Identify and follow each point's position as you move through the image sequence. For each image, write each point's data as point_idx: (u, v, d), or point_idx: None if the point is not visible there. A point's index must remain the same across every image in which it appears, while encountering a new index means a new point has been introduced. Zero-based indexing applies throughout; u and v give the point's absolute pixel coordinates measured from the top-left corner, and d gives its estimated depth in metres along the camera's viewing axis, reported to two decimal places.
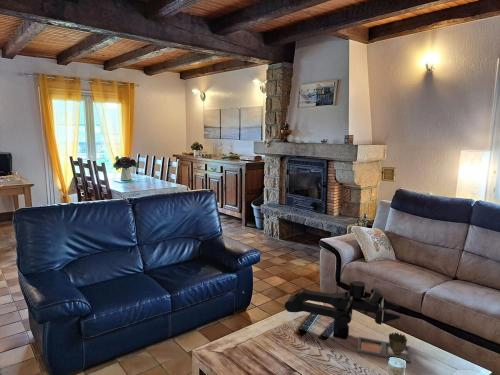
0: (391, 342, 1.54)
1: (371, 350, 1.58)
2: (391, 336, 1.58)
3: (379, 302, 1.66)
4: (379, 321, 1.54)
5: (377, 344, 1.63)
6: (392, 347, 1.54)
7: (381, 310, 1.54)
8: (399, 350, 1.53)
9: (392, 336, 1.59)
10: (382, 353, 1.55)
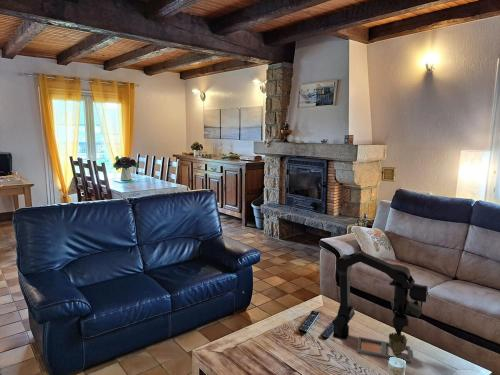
0: (391, 342, 1.54)
1: (371, 350, 1.58)
2: (391, 336, 1.58)
3: None
4: (396, 322, 1.45)
5: (377, 344, 1.63)
6: (392, 347, 1.54)
7: (408, 323, 1.45)
8: (399, 350, 1.53)
9: (392, 336, 1.59)
10: (382, 353, 1.55)
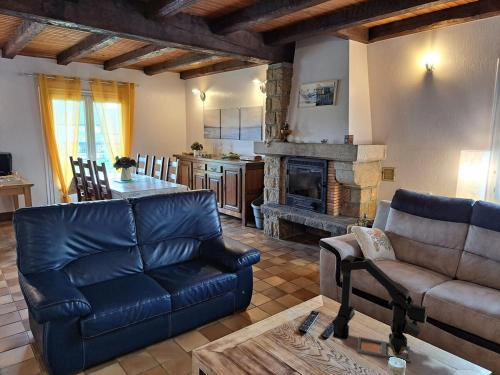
0: None
1: (371, 350, 1.58)
2: None
3: None
4: (395, 343, 1.47)
5: (377, 344, 1.63)
6: (392, 347, 1.54)
7: (406, 344, 1.46)
8: None
9: None
10: (382, 353, 1.55)
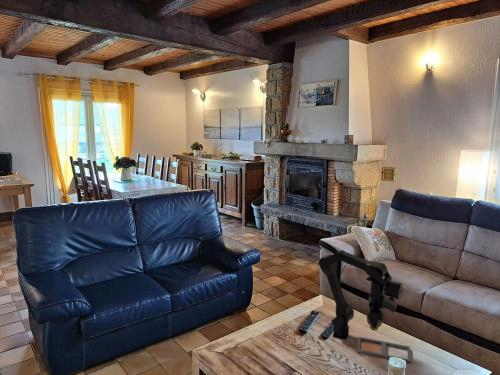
0: None
1: (371, 350, 1.58)
2: None
3: None
4: (371, 317, 1.49)
5: (377, 344, 1.63)
6: (369, 322, 1.56)
7: (382, 318, 1.48)
8: (376, 325, 1.55)
9: None
10: (382, 353, 1.55)
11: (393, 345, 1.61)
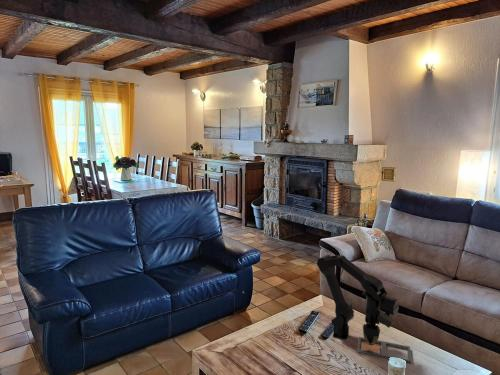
0: None
1: (371, 350, 1.58)
2: None
3: None
4: (367, 332, 1.50)
5: (377, 344, 1.63)
6: (366, 337, 1.58)
7: (378, 334, 1.50)
8: None
9: None
10: (382, 353, 1.55)
11: (393, 345, 1.61)
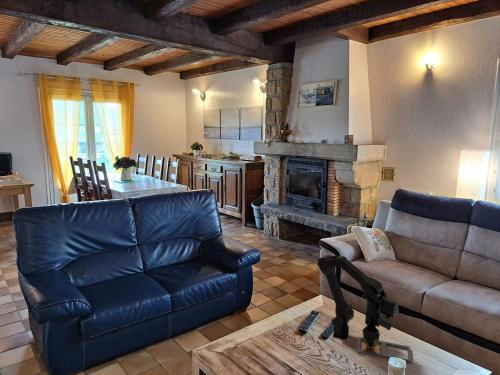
0: None
1: (371, 350, 1.58)
2: None
3: None
4: (367, 335, 1.50)
5: (377, 344, 1.63)
6: (365, 341, 1.58)
7: (378, 336, 1.50)
8: None
9: None
10: (382, 353, 1.55)
11: (393, 345, 1.61)
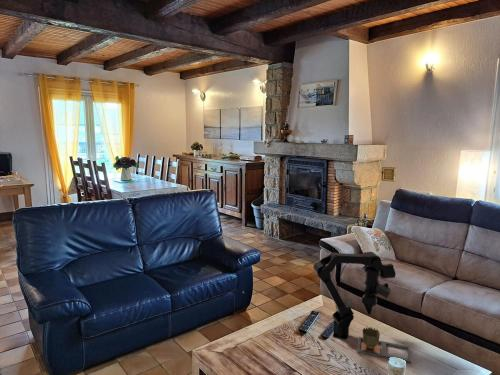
0: (364, 336, 1.58)
1: (371, 350, 1.58)
2: (365, 331, 1.62)
3: None
4: (365, 301, 1.61)
5: (377, 344, 1.63)
6: (365, 341, 1.58)
7: None
8: (372, 344, 1.57)
9: (366, 331, 1.62)
10: (382, 353, 1.55)
11: (393, 345, 1.61)
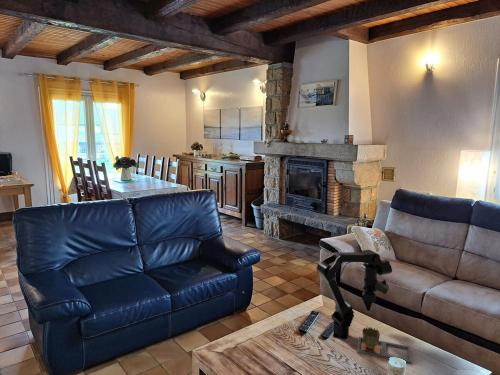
0: (364, 336, 1.58)
1: (371, 350, 1.58)
2: (365, 331, 1.62)
3: None
4: (365, 298, 1.64)
5: (377, 344, 1.63)
6: (365, 341, 1.58)
7: (375, 299, 1.64)
8: (372, 344, 1.57)
9: (366, 331, 1.62)
10: (382, 353, 1.55)
11: (393, 345, 1.61)
